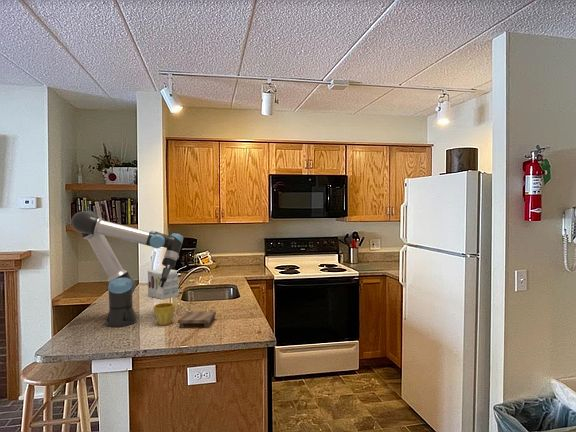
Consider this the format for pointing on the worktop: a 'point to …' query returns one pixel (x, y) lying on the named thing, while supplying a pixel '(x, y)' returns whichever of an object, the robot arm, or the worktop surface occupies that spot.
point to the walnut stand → (197, 318)
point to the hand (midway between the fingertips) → (158, 295)
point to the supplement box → (170, 285)
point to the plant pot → (164, 313)
